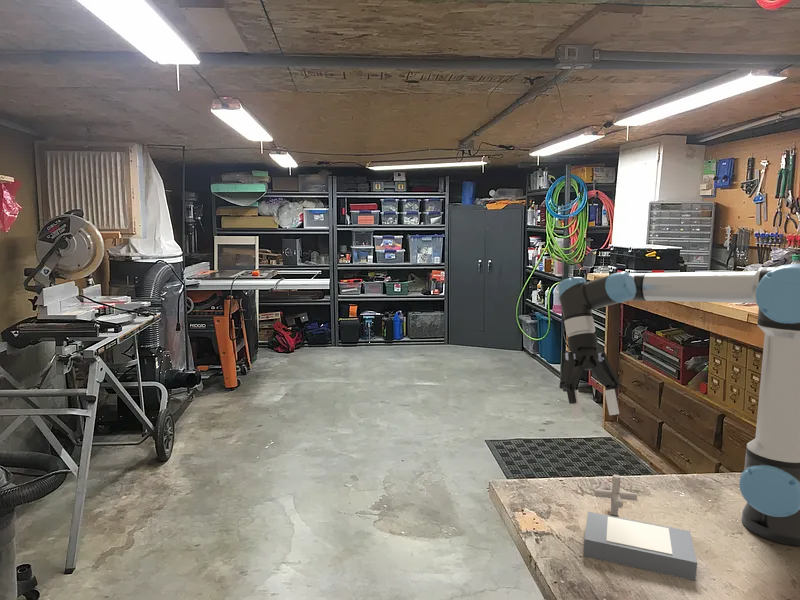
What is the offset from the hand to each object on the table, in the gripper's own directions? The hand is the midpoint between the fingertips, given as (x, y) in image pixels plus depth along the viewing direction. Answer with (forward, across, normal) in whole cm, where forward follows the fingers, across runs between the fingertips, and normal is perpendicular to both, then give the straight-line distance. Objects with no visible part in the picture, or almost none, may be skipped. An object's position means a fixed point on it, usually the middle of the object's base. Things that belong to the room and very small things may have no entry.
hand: (596, 415), depth 141 cm
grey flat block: (+31, +5, +8) cm, 32 cm away
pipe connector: (+24, -4, -4) cm, 25 cm away
